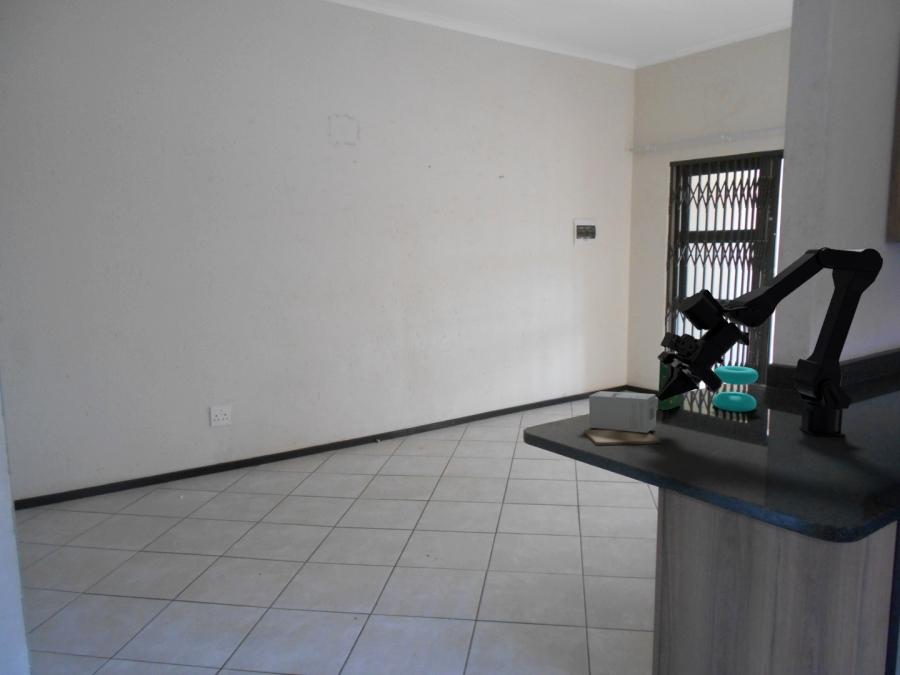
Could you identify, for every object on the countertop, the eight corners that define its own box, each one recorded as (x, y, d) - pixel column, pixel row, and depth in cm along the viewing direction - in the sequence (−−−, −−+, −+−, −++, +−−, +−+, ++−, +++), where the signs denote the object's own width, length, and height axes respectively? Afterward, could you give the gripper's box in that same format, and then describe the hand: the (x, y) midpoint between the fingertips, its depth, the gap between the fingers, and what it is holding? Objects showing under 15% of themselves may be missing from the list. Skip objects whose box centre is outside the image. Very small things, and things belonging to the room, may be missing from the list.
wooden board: (643, 431, 131) (643, 428, 131) (660, 443, 123) (660, 440, 122) (584, 432, 131) (584, 430, 131) (597, 445, 122) (597, 442, 122)
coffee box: (670, 404, 156) (672, 353, 154) (681, 405, 154) (683, 354, 152) (656, 409, 150) (658, 357, 148) (667, 411, 148) (670, 358, 146)
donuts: (720, 371, 146) (709, 364, 156) (718, 412, 147) (707, 402, 157) (765, 372, 145) (750, 365, 154) (762, 413, 146) (748, 403, 156)
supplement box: (646, 398, 126) (588, 395, 133) (647, 433, 126) (589, 428, 133) (656, 393, 132) (599, 390, 139) (656, 426, 132) (600, 422, 139)
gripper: (668, 314, 134) (617, 364, 134) (709, 323, 115) (650, 381, 116) (701, 349, 135) (650, 398, 136) (747, 363, 117) (688, 421, 117)
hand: (658, 399), depth 126 cm, fingers closed
